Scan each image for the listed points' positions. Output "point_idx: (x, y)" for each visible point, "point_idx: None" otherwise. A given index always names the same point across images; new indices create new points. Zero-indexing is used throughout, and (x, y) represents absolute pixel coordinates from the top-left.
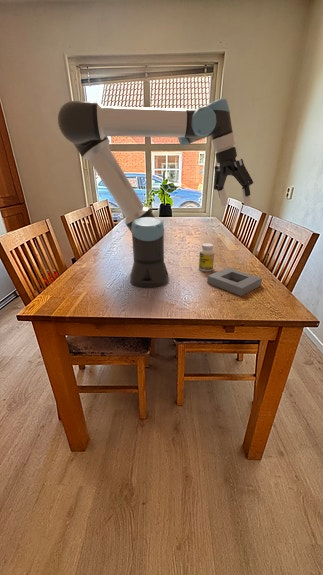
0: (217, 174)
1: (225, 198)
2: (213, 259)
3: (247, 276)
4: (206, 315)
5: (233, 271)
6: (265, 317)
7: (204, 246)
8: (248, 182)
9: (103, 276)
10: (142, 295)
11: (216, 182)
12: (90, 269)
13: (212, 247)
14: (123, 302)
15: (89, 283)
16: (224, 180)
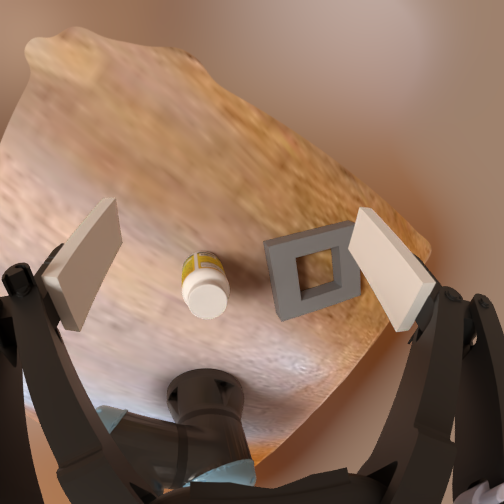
0: (34, 487)
1: (98, 234)
2: (223, 270)
3: (334, 245)
4: (353, 360)
5: (296, 253)
6: None
7: (214, 317)
8: (471, 343)
9: None
10: (257, 413)
11: (22, 397)
12: None
13: (225, 292)
14: (262, 430)
15: None
16: (80, 394)
